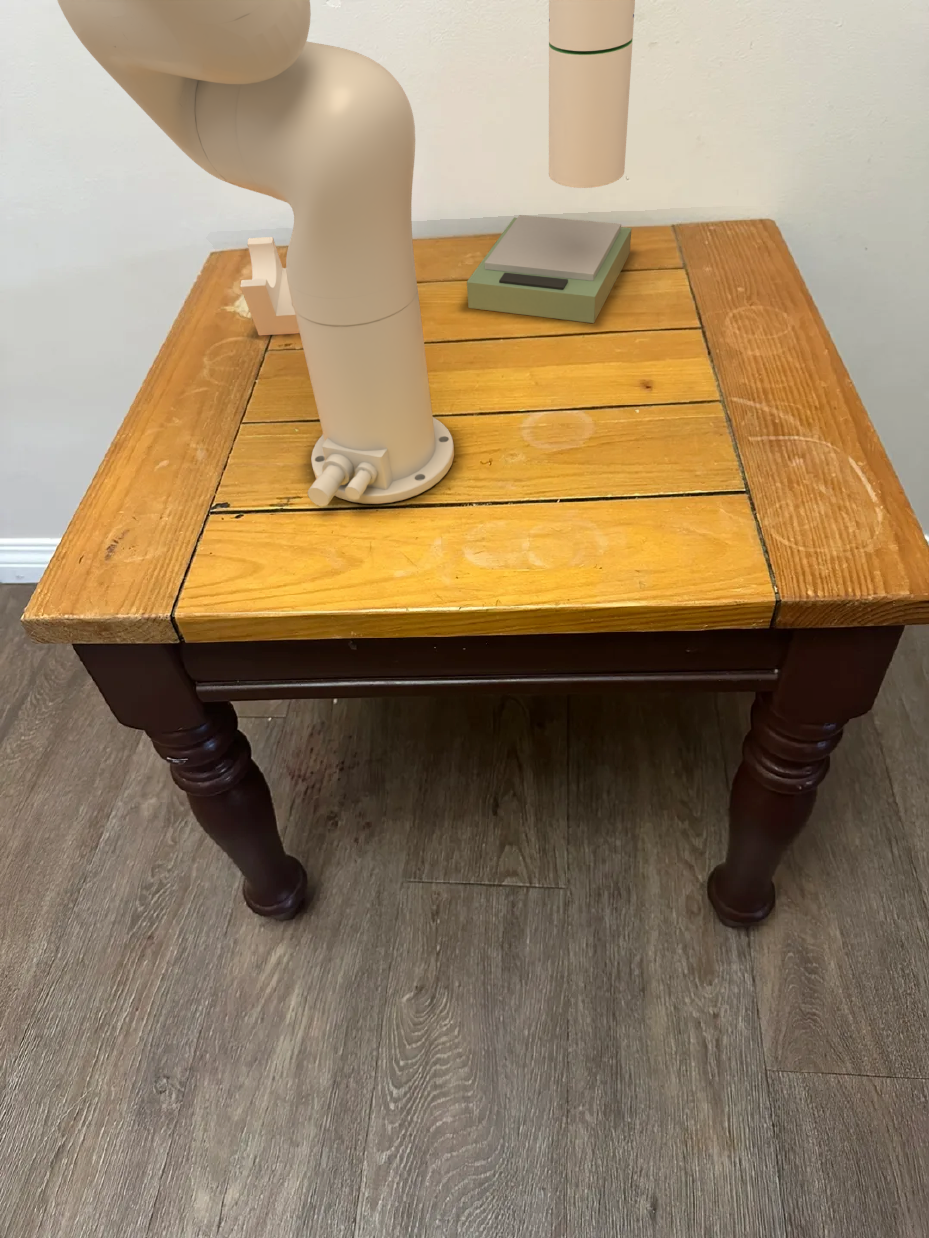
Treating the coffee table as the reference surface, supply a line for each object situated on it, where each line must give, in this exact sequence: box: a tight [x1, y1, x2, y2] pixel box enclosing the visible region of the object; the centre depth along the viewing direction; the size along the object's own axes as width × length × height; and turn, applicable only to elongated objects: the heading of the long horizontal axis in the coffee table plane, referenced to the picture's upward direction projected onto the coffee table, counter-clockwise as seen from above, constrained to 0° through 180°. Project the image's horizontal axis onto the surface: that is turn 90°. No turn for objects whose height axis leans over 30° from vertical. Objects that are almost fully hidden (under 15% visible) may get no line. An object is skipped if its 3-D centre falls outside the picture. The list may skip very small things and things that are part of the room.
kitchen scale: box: [466, 214, 633, 324], centre depth 95 cm, size 16×14×4 cm
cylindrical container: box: [548, 0, 636, 189], centre depth 73 cm, size 7×7×25 cm
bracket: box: [239, 236, 300, 336], centre depth 92 cm, size 13×7×8 cm, turn 89°
